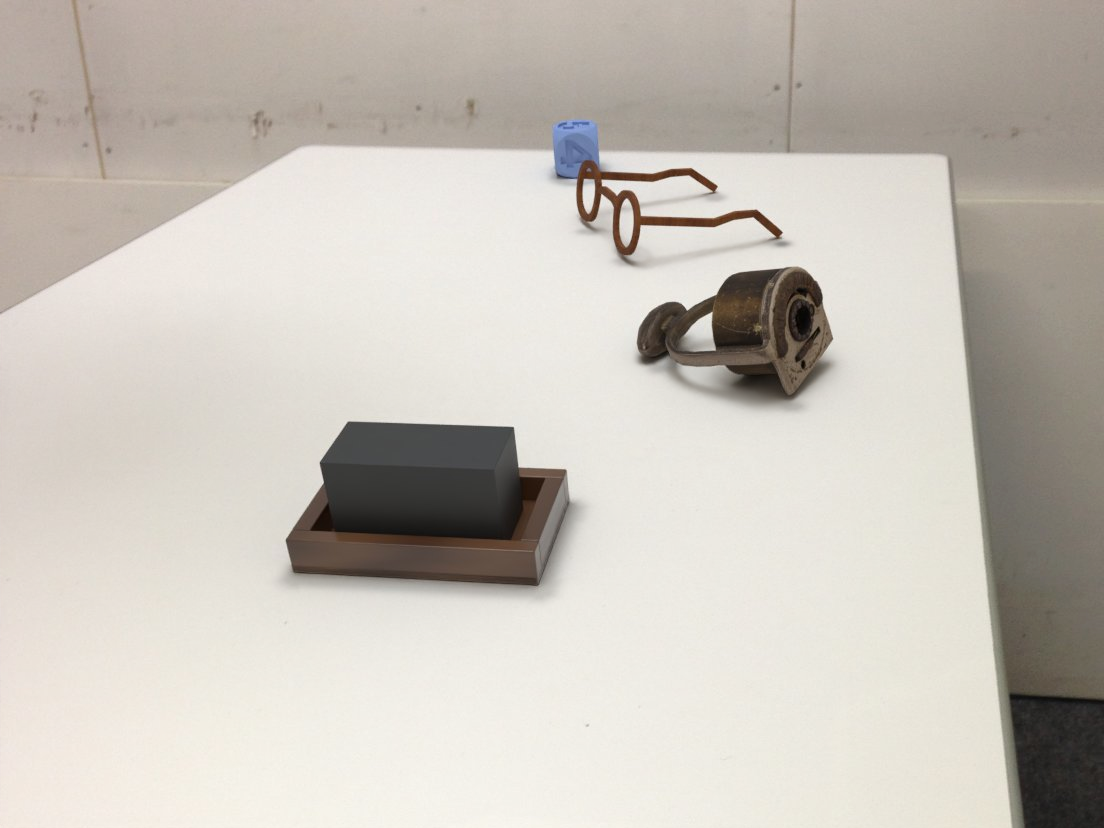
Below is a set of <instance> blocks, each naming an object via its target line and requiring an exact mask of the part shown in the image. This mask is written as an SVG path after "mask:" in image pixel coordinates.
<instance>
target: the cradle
mask: <svg viewBox="0 0 1104 828" xmlns="http://www.w3.org/2000/svg"><path fill="white" fill-rule="evenodd" d="M519 475H520V484H521V492H522V501H523V511H522V514H521V516H520V518H519V521H518V523H517V526H516V528H515V530H514V533H513V535H512V538H511V540H494V539H473V538H452V537H431V536H410V535H389V534H368V533H347V532H335V530H334V526H333V521H332V517H331V512H330V508H329V503H328V499H327V494H326V490H325V485H324V482H323V483H322V484H321V486H320V488H319V489H318V491H317V492H316V493H315V495H314V496H313V498H312V499H311V501H310V502H309V504H307V507H306V508H305V510H304V511H303V512H302V513H301V515H300V517H299V518H298V520H297V521H296V523H295V525H294V526H293V527H292V530H291V531H290V532H289V533H288V535H287V536H286V538H285V544H286V548H287V553H288V556H289V561H290V564H291V565H290V566H291V570H292V572H293V573H308V574H328V575H345V576H364V577H365V576H366V577H382V578H400V579H401V578H403V579H420V580H421V579H422V580H438V581H439V580H441V581H458V582H459V581H460V582H475V583H476V582H477V583H478V582H479V583H494V584H495V583H497V584H518V585H536V586H538V585H539V584H540V581H541V577H542V575H543V573H544V570H545V567H546V566H547V565H546V564H547V562H548V559H549V556H550V554H551V551H552V548H553V546H554V543H555V540H556V537H557V535H558V532H559V530H560V527H561V525H562V522H563V519H564V516H565V514H566V511H567V509H568V506H569V503H570V488H569V478H568V470H567V469H566V468H543V467H519Z"/></svg>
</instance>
